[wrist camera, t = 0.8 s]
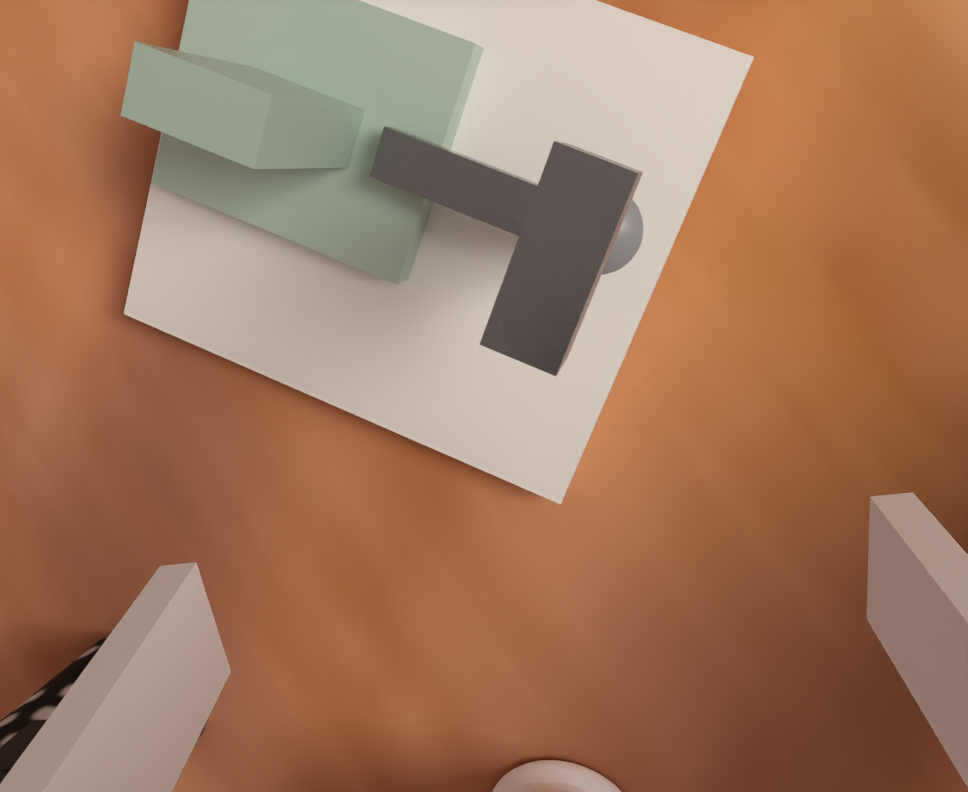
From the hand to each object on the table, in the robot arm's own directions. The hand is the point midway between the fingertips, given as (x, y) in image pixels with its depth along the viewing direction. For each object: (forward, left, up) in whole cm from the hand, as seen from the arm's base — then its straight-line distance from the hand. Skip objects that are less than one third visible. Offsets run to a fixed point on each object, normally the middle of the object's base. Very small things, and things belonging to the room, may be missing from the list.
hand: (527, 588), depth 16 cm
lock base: (+11, -3, -22) cm, 25 cm away
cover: (+16, -5, -20) cm, 26 cm away
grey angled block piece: (+7, -5, -20) cm, 22 cm away
